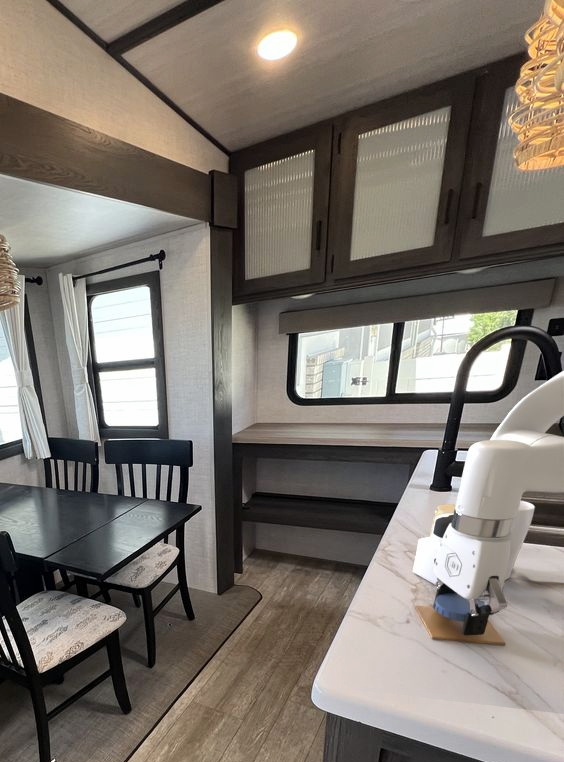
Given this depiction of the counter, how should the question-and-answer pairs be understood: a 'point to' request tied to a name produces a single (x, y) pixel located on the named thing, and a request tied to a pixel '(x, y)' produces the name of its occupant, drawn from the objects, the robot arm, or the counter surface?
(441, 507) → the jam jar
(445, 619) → the cork coaster
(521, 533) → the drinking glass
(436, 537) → the container
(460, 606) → the lid
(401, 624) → the counter surface
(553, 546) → the counter surface
